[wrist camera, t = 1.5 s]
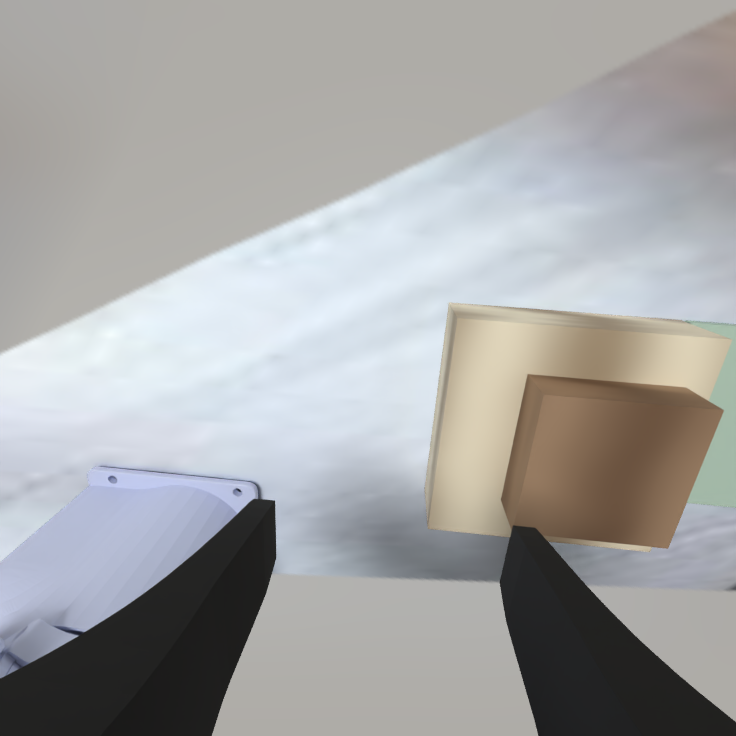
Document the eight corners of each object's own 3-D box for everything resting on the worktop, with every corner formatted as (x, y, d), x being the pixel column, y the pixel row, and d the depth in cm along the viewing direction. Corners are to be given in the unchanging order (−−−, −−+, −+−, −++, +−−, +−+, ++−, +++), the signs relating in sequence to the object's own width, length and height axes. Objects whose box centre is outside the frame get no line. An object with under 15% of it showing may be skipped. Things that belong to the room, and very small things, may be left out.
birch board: (424, 488, 22) (427, 528, 19) (448, 302, 18) (457, 318, 16) (617, 507, 21) (649, 552, 19) (680, 320, 18) (732, 339, 15)
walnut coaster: (500, 499, 18) (512, 532, 16) (527, 374, 16) (544, 394, 14) (640, 513, 18) (667, 548, 16) (686, 387, 16) (724, 410, 14)
